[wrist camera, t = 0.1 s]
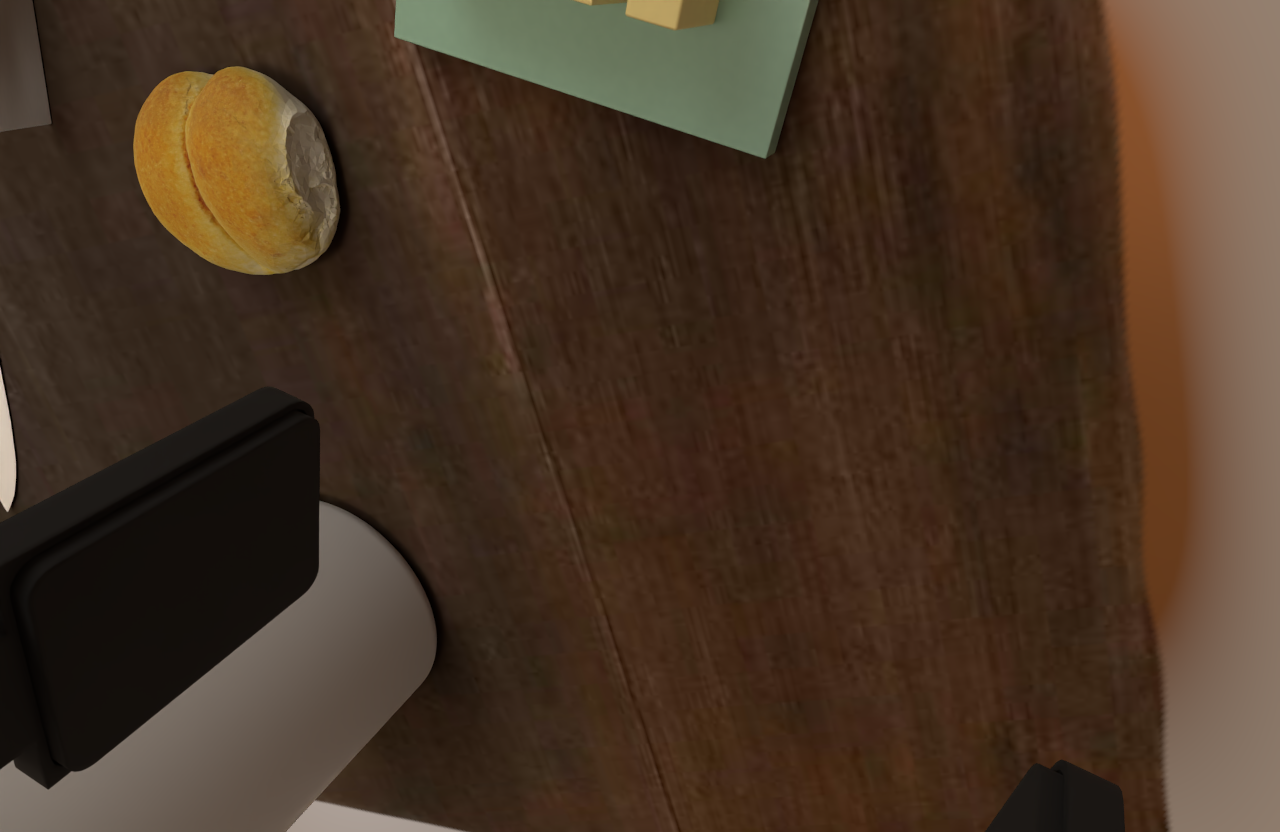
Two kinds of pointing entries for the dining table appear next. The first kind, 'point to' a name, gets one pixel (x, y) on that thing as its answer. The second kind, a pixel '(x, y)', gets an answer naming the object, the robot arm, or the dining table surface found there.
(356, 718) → the cylinder vase
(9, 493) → the knife
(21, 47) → the wooden handled knife
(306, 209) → the bread roll
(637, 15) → the butter slice
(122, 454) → the dining table surface
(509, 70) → the butter dish
